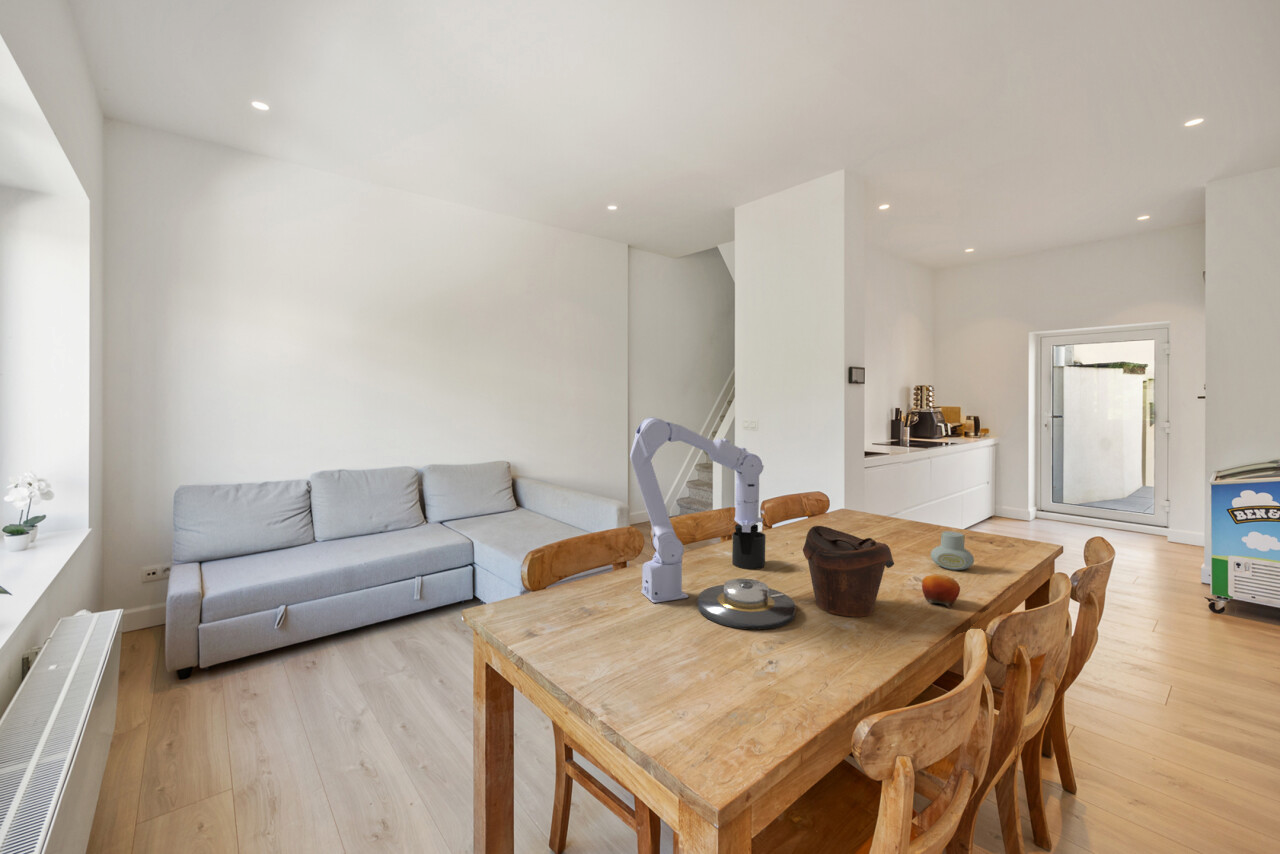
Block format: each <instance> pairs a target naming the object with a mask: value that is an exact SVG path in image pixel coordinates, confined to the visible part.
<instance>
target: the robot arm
mask: <svg viewBox="0 0 1280 854" xmlns="http://www.w3.org/2000/svg"><path fill="white" fill-rule="evenodd" d="M634 435H635V436H634V439H633V442H632V446H631V450H630V453H629V460H630V463H631V465H632V467H633V468H632V469H633V471H634V474H635V477H636V480H637V483H638V487H639V491H640V493H641V497H642V500H643V503H644V506H645V508H646V512H647V515H648V518H649V521H650V525H651V530H652V535H653V536H652V545H653V548H654V549H655V550H656V551H655V552H654V554H653V556H652V559H651V560H648V561H645V562H644V563H643V565H642V573H641V574H642V577H641V581H642V582H641V583H642V584H641V585H642V586H641V587H642V588H641V590H640V592H641V593H642V594H643V595H644V596H645V598H647V599H649V600H650V601H651V602H652V603H653V604H654V603H663V602H668V601H675V600H683V599H687V598H689V595H688V594H687V593H686V592H684V591H683V589H682V588H683V587H682V586H683V555H684V551H685V550H684V549H685V547H684V545H683V543H682V541H681V540H680V539H679V538H678V537H677V534H676V532H675V530H674V527H673V524H672V522H671V519H670V517H669V513H668V510H667V507H666V503H665V501H664V497H663V495H662V491H661V488H660V485H659V482H658V479H657V476H656V473H655V470H654V466H653V463H652V459H653V457H654V455H655V454H656V452H657V450H658V449H660V447H662V446H663V445H664V444H665V443H666V442H667V441H668V442H670V443H673V442H679V441H680V442H682V443H685V444H688V445H689V446H692V447H694V448H696V449H698V450H699V449H700V450H702V451H704V452H706V454H707V455H708V458H709V460H710V461H711V462H715V463H717V464H718V465H721V466H723V467H726V468H727V469H731V470H734V471H735V473H736V476H735V477H736V479H735V509H734V510H735V514H734V515H735V516H734V519H733V520H734V521H735V523H737V524H735V526H734V529H735V532H737V534H738V537H739V541H740V548H741V553H742V554H743V555H750V554H751V550H752V544H753V540H754V537H755V535H756V533H757V532H759V525H758V523H763V522H764V518H763V517H759V512H760V511H759V507H760V505H759V504H760V503H759V502H760V475H761V474H762V472H763V471H764V467H765V465H763V462H762V459H761V458H760V456H759V455H757V454H754V453H751V452H749V451H748V450H747V448H745V447H743V446H742V447H739V446H737V445H734V444H733V443H730V442H731V440H729V439H727V438H723V439H721V438H717V439H715V440H711V439H708V437H705V436H703V435H702V434H699V433H697V432H695V431H694V430H691V429H689V428H687V427H685V426H683V425H681V424H677V423H674V422H671V421H670V422H669V421H666V420H664V419H661V418H657V417H655V416H653V417H647V418H645V419H643V420H642V422H641V423H639V425H638V427H637V428H636V429H635V434H634Z"/></svg>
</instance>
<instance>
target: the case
mask: <svg viewBox="0 0 1280 854" xmlns="http://www.w3.org/2000/svg"><path fill="white" fill-rule="evenodd" d="M802 552H803V556H804V557H805V560H807V562H808V568H809V569H808V570H809V573H810V577H811V578H810V579H811V585H812V589H813V595H814V601H815V604H816V606H818V607H819V608H820V609H821V610H823V611H825V612H827V613H829V614H832V615H837V616H842V617H851V618H852V617H853V618H855V617H856V618H857V617H858V618H861V617H862V618H863V617H867V616H870V615H872V614H873V613H874V611H875V605H876V602H877V597H878V595H879V594H878V593H879V591H880V587H881V583H882V578H883V575H884V571H885V568H888V569H889V568H892V567H893V566H894V565H895V562H894V558H893V556H892V551H891V548H890V547H889V545H888V544H886V543H884V542H883V543H882V542H879V541H876V540H874V539H873V538H872V537H867V538H864V539H863V538H861V537H858V536H855V535H853V534H849V533H846V532H843V531H840V530H837V529H834V528H831V527H828V526H823V525H814V526H812V527H811V528H809V530H808V531H807V534H806V538H805V542H804V546H803V548H802Z"/></svg>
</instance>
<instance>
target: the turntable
mask: <svg viewBox="0 0 1280 854" xmlns="http://www.w3.org/2000/svg"><path fill="white" fill-rule="evenodd" d="M697 610H698V611H699V613H700V614H701V615H702V616H703V617H704V618H706V619H708V620H710V621H712V622H714V623H716V624H720V625H722V626H726V627H729V628H730V627H731V628H734V629H742V630H771V629H777V628H780V627H783V626H786V625H788V624H790V623H791V622H792V621H794V619H795V616H796V603H795V601H794V600H793V599H792V598H791V597H790V596H789V595H787V594H785V593H783V592H782V591H779V590H777V589H773V588H769V587H768V605H767V606H766V607H764V608H761V609H751V610H750V609H740V608H735V607H732V606H730V605H728V604H727V603H725V601H724V584H718V585H714V586H710V587H707V588H706V589H703V590H702V591H701V592H699V595H698V596H697Z"/></svg>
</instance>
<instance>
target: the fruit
mask: <svg viewBox="0 0 1280 854" xmlns="http://www.w3.org/2000/svg"><path fill="white" fill-rule="evenodd" d="M921 582H922V583H921V590H922V593H923V596H924V598H925V601H928V602H929V603H930V605H932V604H942V605H944V606H946V607H947V608H948V609H950V607H949V606H950V605H952V604H954V603H955V601H957V599H958V597H959V595H960V591H961V586H960V585H959V582H957V580H955V579H954V578H953V577H951V576H949V575H946V574H945V575H944V574H941V573H933V574H930V575H925V577H923V579H922V580H921Z"/></svg>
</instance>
